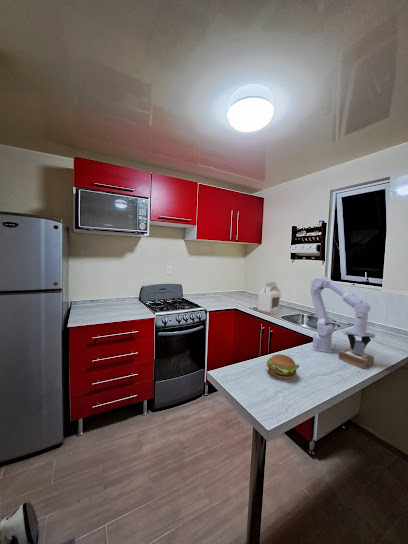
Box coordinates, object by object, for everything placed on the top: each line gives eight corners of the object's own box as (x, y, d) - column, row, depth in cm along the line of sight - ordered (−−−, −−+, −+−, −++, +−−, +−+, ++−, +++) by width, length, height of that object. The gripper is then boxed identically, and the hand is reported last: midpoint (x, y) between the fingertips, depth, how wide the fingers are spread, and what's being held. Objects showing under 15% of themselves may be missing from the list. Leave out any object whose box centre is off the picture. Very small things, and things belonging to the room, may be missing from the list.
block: (354, 353, 121) (355, 342, 120) (350, 350, 125) (352, 339, 125) (363, 354, 120) (365, 343, 119) (359, 351, 124) (361, 340, 124)
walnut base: (363, 368, 115) (364, 361, 114) (338, 358, 125) (339, 351, 124) (373, 363, 121) (374, 356, 121) (349, 354, 131) (349, 347, 131)
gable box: (269, 312, 220) (271, 284, 218) (257, 309, 229) (259, 282, 227) (279, 309, 236) (282, 282, 234) (267, 306, 245) (270, 281, 243)
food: (260, 372, 105) (261, 355, 105) (274, 363, 115) (276, 348, 114) (288, 385, 95) (290, 367, 95) (302, 374, 105) (303, 358, 105)
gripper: (348, 325, 119) (345, 350, 120) (379, 328, 116) (376, 354, 117) (343, 321, 126) (340, 344, 127) (372, 324, 123) (369, 348, 124)
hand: (357, 349), depth 123 cm, fingers closed on block, 4 cm apart
